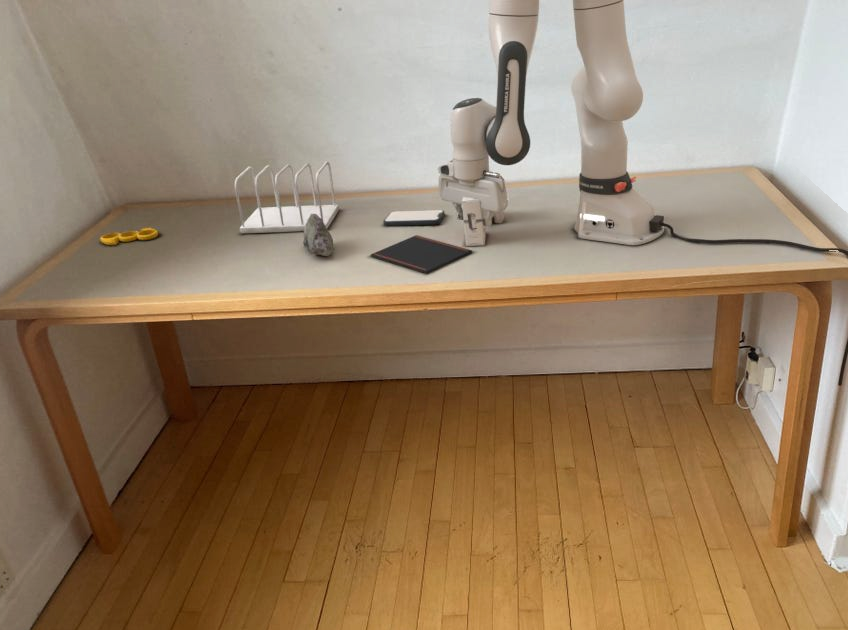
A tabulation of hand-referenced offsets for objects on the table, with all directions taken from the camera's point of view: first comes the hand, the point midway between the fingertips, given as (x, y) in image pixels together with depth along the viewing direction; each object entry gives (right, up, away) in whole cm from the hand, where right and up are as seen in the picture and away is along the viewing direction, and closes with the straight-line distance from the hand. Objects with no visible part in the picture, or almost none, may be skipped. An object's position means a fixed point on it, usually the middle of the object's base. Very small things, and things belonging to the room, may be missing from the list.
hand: (474, 222), depth 196 cm
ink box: (+1, -4, +2) cm, 5 cm away
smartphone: (-16, +4, +20) cm, 25 cm away
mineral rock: (-40, -7, +4) cm, 41 cm away
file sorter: (-51, +5, +28) cm, 59 cm away
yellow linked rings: (-98, 0, +28) cm, 102 cm away
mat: (-13, -9, -3) cm, 16 cm away
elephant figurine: (+6, +3, +15) cm, 17 cm away
